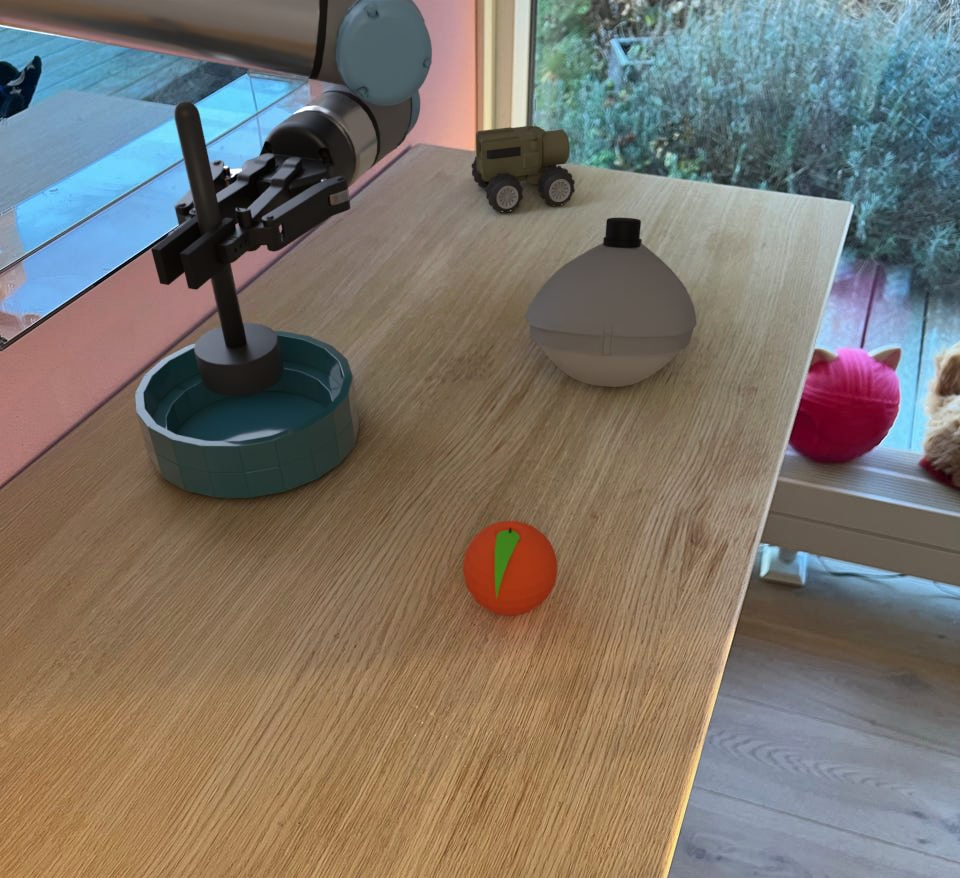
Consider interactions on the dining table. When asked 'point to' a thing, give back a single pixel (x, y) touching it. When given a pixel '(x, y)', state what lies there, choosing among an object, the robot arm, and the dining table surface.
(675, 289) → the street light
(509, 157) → the toy vehicle
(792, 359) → the dining table surface
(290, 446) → the bowl
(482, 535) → the clementine
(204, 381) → the black peg stand
